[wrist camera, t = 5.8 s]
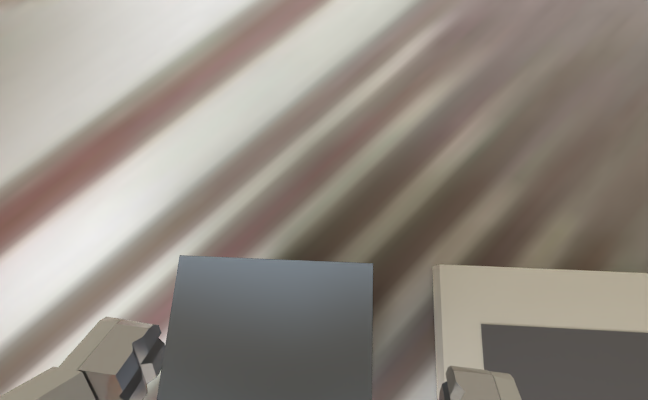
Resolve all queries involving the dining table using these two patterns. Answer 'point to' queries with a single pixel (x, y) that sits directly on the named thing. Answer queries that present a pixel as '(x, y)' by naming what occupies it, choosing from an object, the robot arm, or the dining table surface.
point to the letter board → (545, 329)
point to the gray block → (269, 330)
